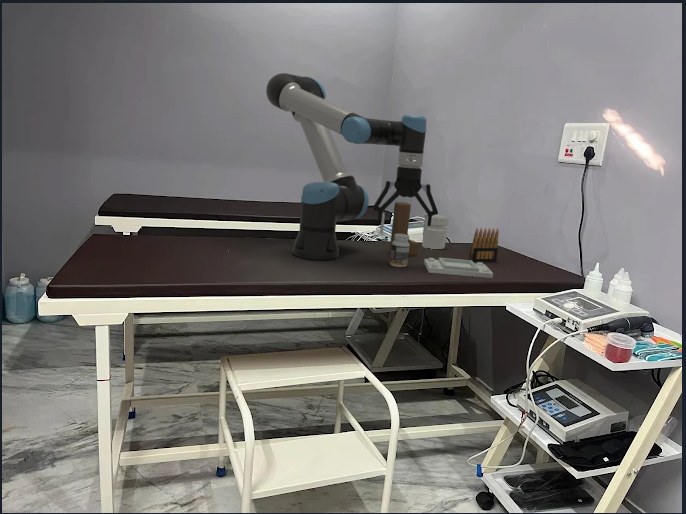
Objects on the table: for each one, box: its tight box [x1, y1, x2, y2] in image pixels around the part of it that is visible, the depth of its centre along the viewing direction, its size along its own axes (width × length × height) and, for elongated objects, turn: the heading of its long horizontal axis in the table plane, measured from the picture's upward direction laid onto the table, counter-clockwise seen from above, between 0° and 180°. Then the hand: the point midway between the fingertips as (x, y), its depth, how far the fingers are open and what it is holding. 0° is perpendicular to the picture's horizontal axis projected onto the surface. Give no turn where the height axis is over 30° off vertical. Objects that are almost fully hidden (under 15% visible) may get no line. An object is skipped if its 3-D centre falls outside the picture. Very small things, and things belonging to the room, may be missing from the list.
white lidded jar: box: [421, 213, 450, 250], centre depth 210 cm, size 9×9×12 cm
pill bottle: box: [389, 234, 410, 268], centre depth 177 cm, size 6×6×10 cm
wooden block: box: [389, 201, 419, 257], centre depth 193 cm, size 9×4×18 cm, turn 104°
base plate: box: [423, 257, 494, 279], centre depth 178 cm, size 20×12×2 cm, turn 89°
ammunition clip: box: [468, 227, 500, 263], centre depth 193 cm, size 11×2×12 cm, turn 114°
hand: (402, 234), depth 176 cm, fingers open, 13 cm apart
